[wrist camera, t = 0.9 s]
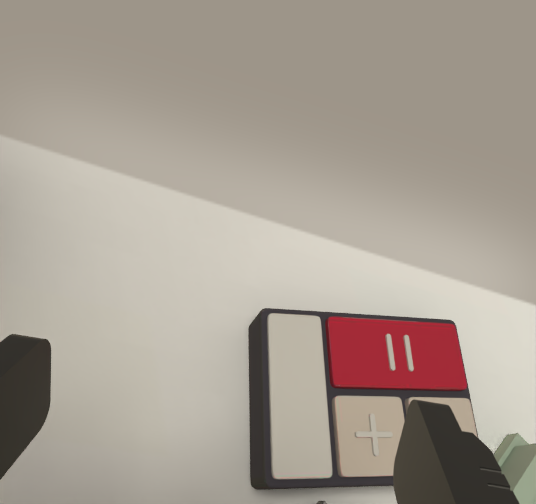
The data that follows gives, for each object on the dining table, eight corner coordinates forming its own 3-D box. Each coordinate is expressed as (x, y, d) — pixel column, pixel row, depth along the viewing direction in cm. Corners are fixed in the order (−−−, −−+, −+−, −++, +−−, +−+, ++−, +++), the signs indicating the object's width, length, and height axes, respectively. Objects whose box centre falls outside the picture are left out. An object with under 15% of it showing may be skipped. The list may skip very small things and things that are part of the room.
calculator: (496, 482, 32) (267, 488, 28) (456, 483, 35) (249, 489, 32) (461, 316, 37) (262, 303, 33) (430, 333, 40) (247, 323, 37)
